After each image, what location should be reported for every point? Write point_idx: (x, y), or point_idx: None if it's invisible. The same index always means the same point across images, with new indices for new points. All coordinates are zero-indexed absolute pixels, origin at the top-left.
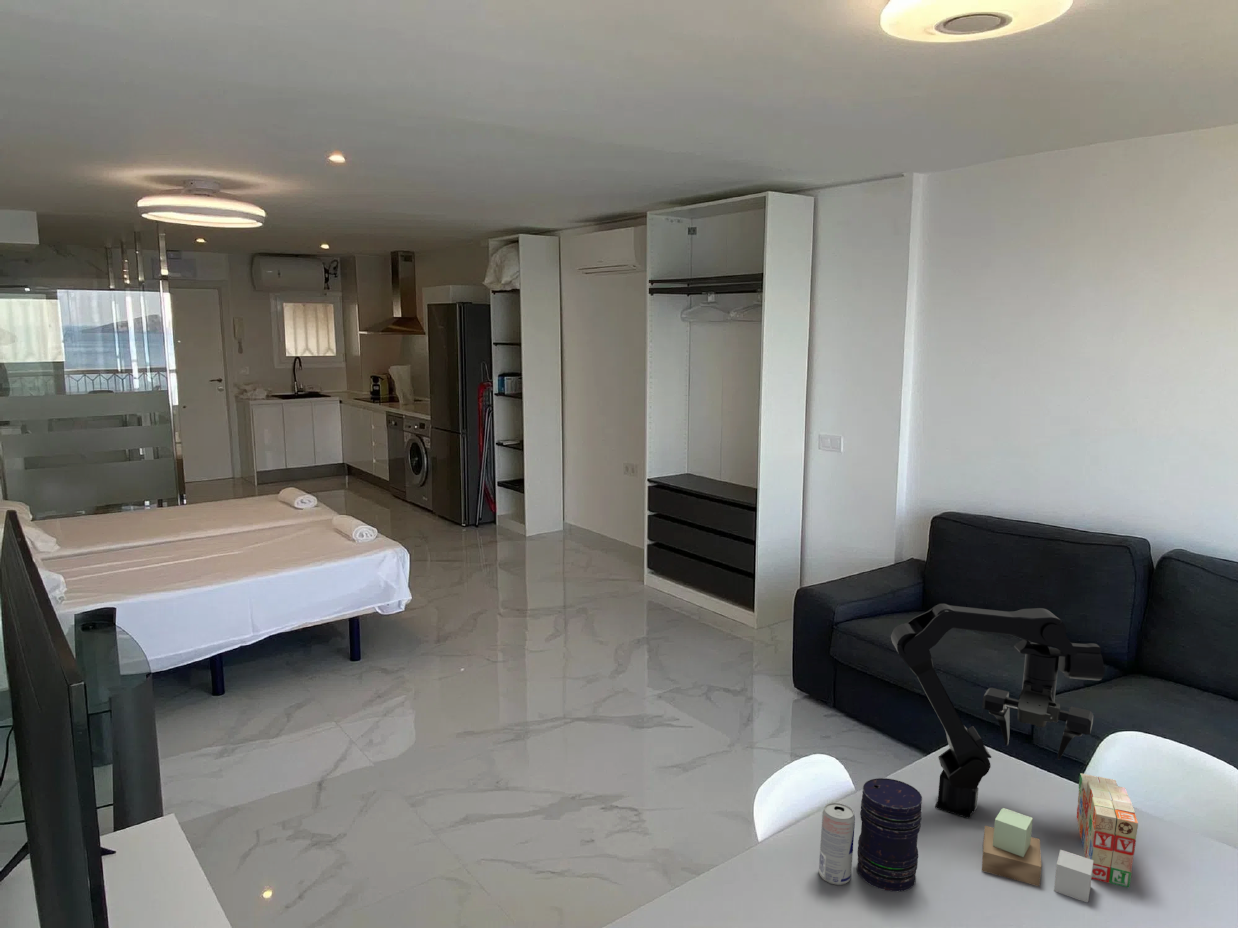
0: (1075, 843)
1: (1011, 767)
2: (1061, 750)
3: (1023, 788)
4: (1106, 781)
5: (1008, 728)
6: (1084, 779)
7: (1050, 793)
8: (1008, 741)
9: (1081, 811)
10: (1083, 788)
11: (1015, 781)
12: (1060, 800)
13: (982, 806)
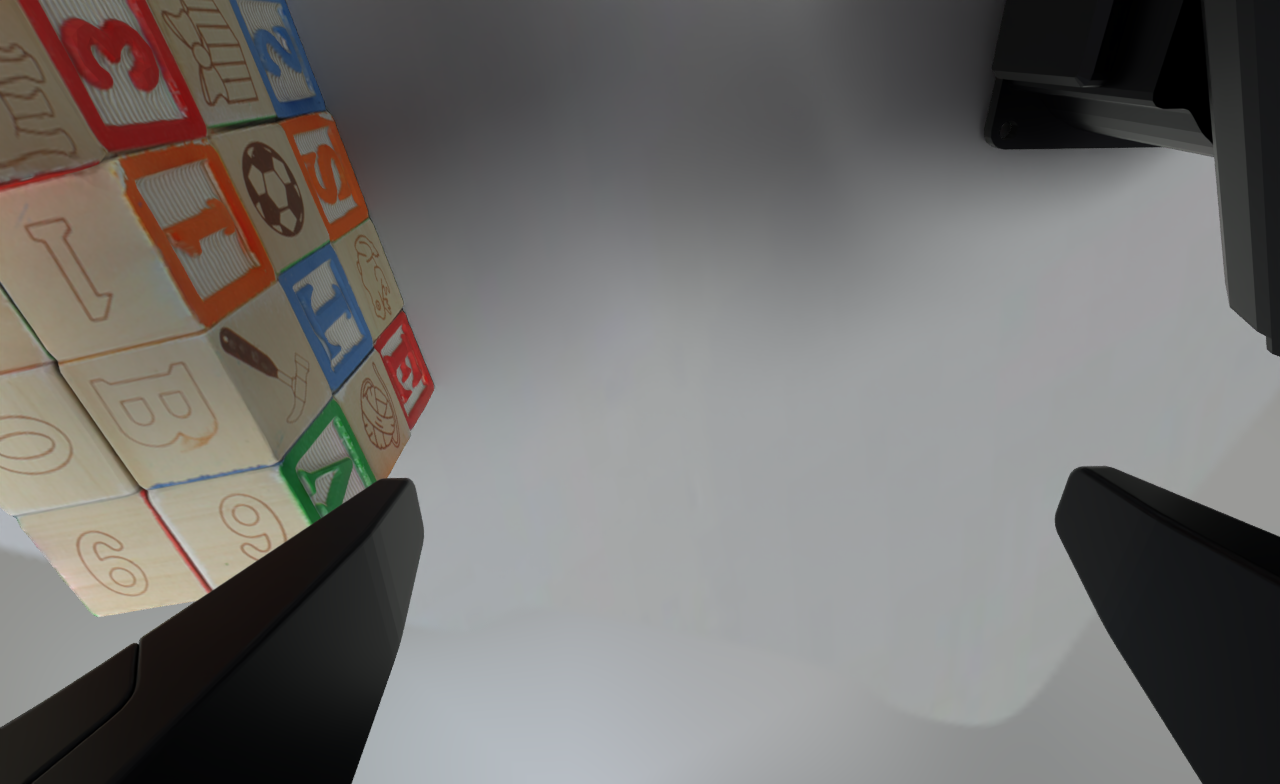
0: (345, 42)
1: (794, 650)
2: (295, 560)
3: (723, 503)
4: (126, 555)
5: (1258, 722)
6: (269, 489)
7: (597, 531)
8: (1075, 540)
9: (311, 250)
10: (223, 338)
11: (766, 545)
12: (542, 495)
13: (935, 151)
